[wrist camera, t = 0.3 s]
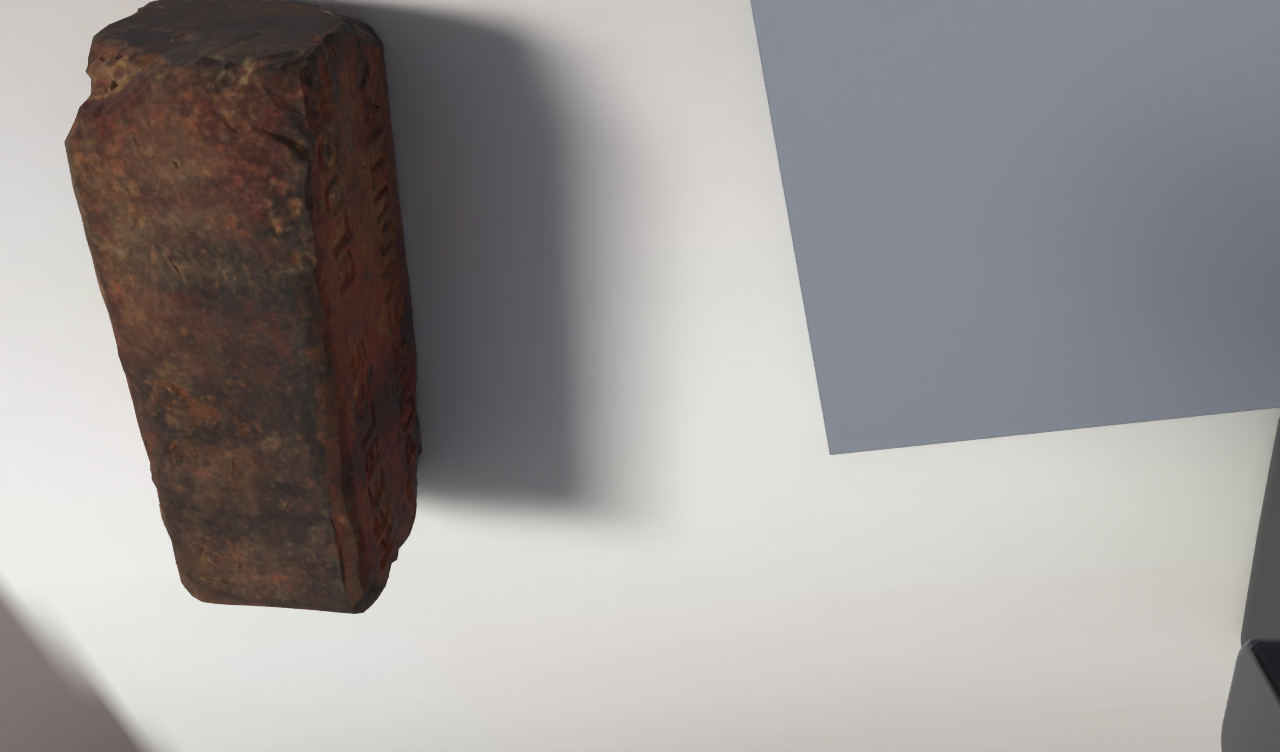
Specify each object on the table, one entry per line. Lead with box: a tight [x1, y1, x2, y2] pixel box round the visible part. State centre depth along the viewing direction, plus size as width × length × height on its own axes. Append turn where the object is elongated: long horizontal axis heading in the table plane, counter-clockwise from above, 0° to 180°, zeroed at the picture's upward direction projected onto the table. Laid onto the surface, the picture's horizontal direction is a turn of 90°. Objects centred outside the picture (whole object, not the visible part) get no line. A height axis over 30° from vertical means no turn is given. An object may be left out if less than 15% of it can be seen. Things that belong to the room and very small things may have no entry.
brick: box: [65, 0, 422, 614], centre depth 22 cm, size 11×4×5 cm, turn 179°
